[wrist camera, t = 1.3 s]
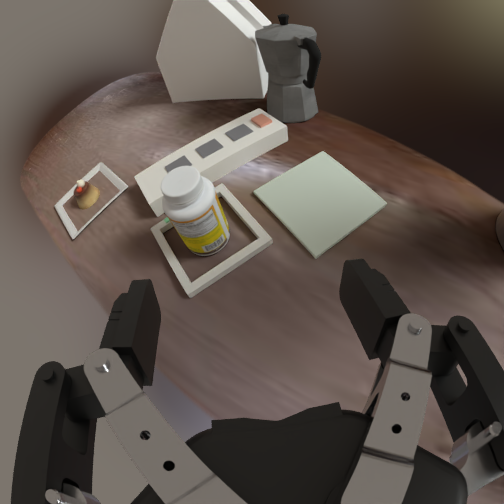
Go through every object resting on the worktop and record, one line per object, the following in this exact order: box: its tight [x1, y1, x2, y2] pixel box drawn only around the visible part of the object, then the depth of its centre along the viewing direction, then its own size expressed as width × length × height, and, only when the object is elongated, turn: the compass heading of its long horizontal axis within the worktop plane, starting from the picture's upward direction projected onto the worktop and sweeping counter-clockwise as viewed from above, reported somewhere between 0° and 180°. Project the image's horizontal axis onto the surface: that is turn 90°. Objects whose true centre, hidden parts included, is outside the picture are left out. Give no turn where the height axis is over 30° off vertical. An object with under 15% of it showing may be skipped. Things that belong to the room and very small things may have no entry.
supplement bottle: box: [161, 166, 230, 256], centre depth 30 cm, size 6×6×10 cm
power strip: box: [134, 108, 288, 217], centre depth 39 cm, size 22×10×3 cm, turn 124°
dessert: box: [54, 162, 128, 239], centre depth 41 cm, size 12×12×5 cm
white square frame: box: [151, 183, 273, 298], centre depth 34 cm, size 11×11×1 cm
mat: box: [254, 151, 387, 259], centre depth 35 cm, size 12×12×1 cm
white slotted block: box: [156, 0, 271, 103], centre depth 43 cm, size 19×15×25 cm
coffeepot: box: [255, 14, 321, 123], centre depth 37 cm, size 15×9×18 cm, turn 22°
